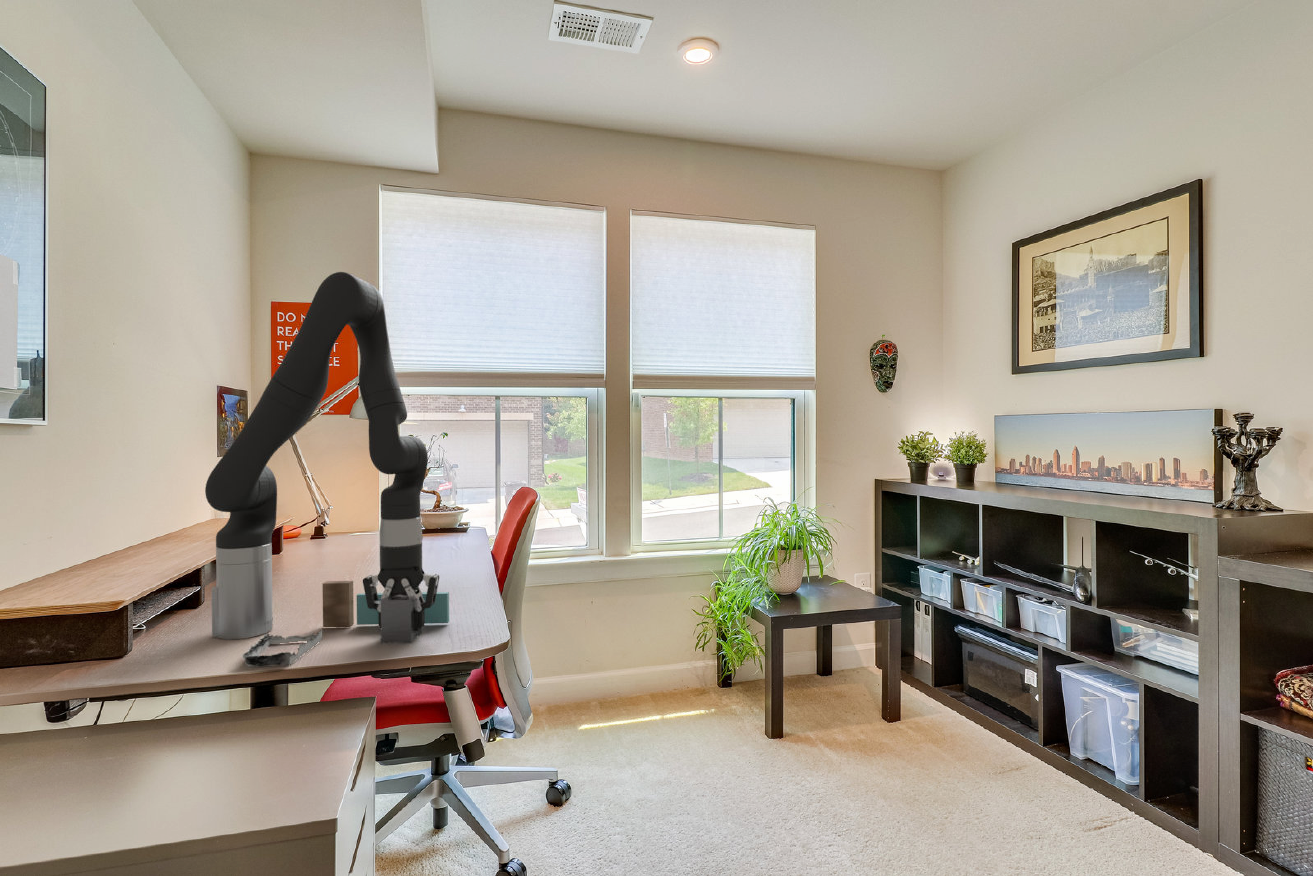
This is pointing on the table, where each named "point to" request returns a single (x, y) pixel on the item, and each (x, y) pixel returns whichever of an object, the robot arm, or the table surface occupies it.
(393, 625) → the block
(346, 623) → the wall frame
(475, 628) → the table surface
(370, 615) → the door
